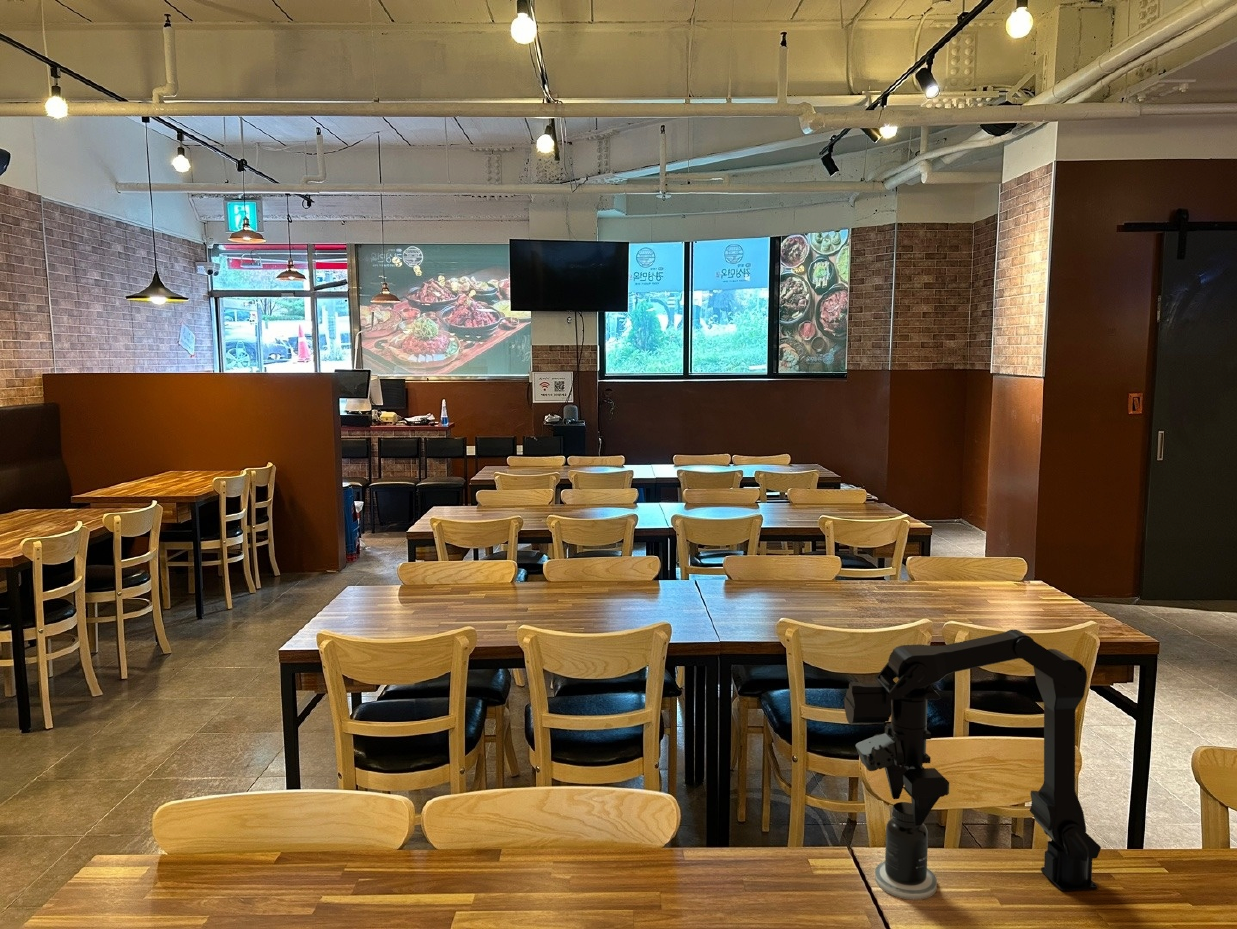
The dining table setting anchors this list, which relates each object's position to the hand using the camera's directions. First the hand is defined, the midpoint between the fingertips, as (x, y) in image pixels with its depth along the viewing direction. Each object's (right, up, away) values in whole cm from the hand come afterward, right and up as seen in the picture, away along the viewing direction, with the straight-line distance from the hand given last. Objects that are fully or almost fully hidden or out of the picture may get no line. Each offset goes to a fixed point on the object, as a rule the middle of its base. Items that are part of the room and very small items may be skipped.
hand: (906, 811), depth 146 cm
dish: (0, -13, +1) cm, 13 cm away
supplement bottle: (0, -12, +1) cm, 12 cm away
